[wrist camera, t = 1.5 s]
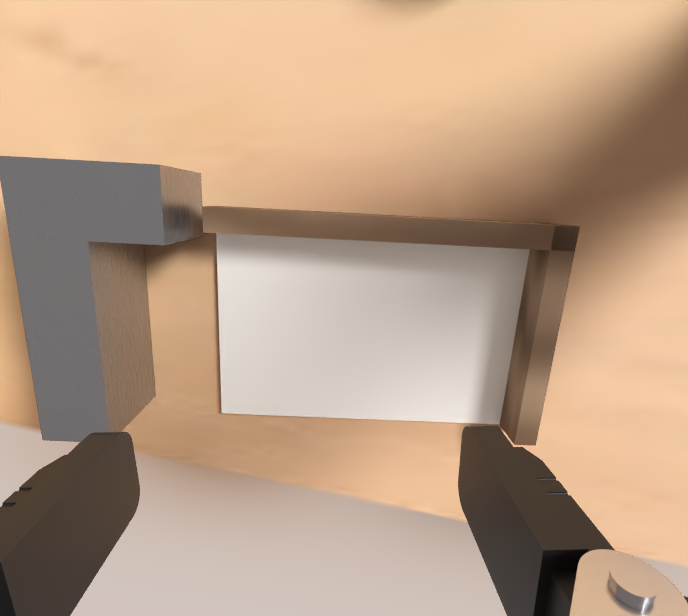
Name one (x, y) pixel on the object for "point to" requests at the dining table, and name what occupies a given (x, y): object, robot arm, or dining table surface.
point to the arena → (542, 239)
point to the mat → (366, 328)
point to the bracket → (91, 280)
